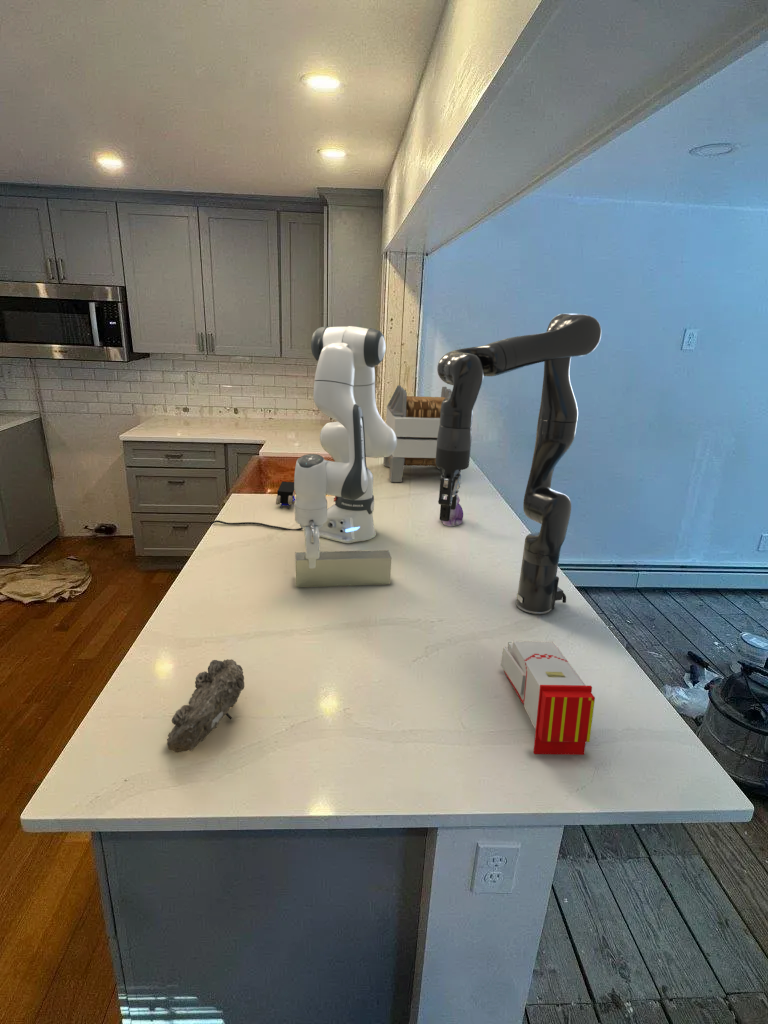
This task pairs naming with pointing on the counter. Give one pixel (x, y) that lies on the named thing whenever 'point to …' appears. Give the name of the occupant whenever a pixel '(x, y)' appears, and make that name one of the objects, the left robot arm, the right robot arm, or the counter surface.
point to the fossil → (206, 705)
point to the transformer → (413, 430)
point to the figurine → (455, 515)
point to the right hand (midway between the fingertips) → (447, 514)
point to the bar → (344, 568)
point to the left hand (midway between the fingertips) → (311, 559)
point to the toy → (550, 696)
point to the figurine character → (285, 494)
